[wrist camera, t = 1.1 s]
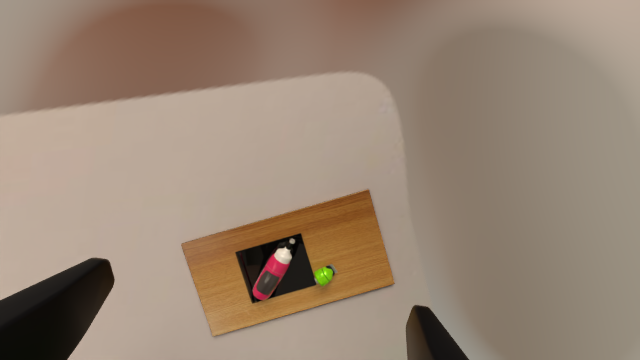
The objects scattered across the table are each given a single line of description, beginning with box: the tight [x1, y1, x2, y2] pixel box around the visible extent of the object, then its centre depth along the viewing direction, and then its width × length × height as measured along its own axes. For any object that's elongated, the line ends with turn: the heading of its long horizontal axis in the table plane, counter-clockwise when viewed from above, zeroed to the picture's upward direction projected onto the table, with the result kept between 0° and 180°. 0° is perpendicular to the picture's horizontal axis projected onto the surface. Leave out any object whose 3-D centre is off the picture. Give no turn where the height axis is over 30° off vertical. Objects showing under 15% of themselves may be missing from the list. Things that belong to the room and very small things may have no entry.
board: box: [181, 189, 394, 336], centre depth 19 cm, size 6×12×2 cm, turn 106°
